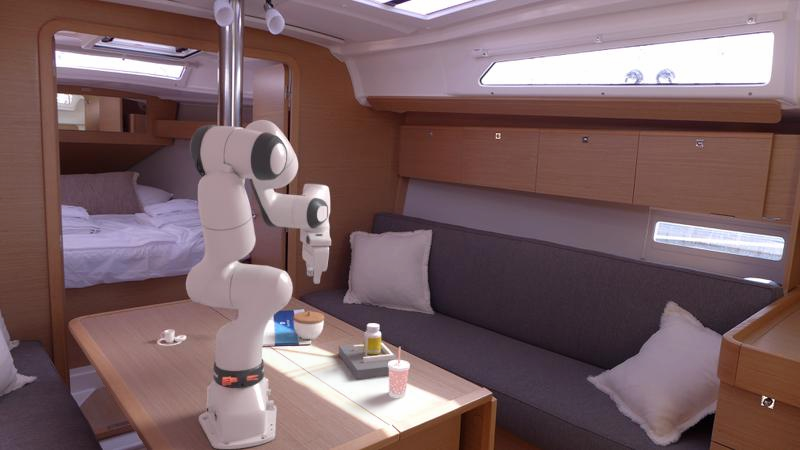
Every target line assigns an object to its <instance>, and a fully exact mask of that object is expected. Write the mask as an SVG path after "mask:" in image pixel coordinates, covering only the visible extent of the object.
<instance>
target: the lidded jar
mask: <svg viewBox="0 0 800 450" xmlns="http://www.w3.org/2000/svg"><path fill="white" fill-rule="evenodd" d="M324 323H325V315H324V314H323V313H321V312H317V311H311V310H308V311H300V312H297V313H295V314H294V315H293V328H294V329H293V330H294V332H295V333H296V335H297V336H298V337H299V338H300V337H301V338H303V339H310V340H309V341H312V340H316V339H317V338H318V337H319V336H320V335H321V334H322V332H323V329H324V326H325V325H324ZM301 338H300V339H301ZM303 339H302V340H303Z"/></svg>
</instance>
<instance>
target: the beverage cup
mask: <svg viewBox="0 0 800 450" xmlns="http://www.w3.org/2000/svg"><path fill="white" fill-rule="evenodd" d="M397 358H398V360H392V361H390V362H389V363H388V368H389V376H388V395H389V396H390V397H391V398H393V399H401V398H404V397H405V396H406V394H407V385H408V384H407V383H408V377H409V376H408V375H409V370H410V368H411V364H410V362H409V361H407V360H404V359H401V346H398V356H397Z"/></svg>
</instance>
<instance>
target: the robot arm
mask: <svg viewBox="0 0 800 450" xmlns="http://www.w3.org/2000/svg"><path fill="white" fill-rule="evenodd" d="M189 153H190V156H191V157H190V158H191V160H192V163H193V165H194V167H195V170H196V172H197V173H198V175H199V176H201V178H200V180H199V182H198V185H197V205H198V214H199V219H200V223H201V229H202V233H203V240H204V241H203V242H204V255H203V258H202V259H201V260H200V261H199V262H198V263H196V264H195V265H194V266H193V267H191V269H190V270H189V272H188V273H187V276H186V281H185V289H186V293H187V295H188V297H189V299H190V300H191V301H192V302H195V303H198V304H201V305H204V306H208V307H212V308H222V309H223V308H224V309H232V310H233V309H235V310H237V311H238V313H237V319H234V320H231V321H229V322H227V323H225V324H224V325H222V326H221V327H220V328H219V329H218V331H217V332H216V336H215V361H214V363H213V368H212V373H213V375H212V376H213V380H212V381H211V382H210V384H209V385H207V387H206V411H205V412H203V413H201V414H199V416H198V422H199V425H200V426H201V428H202V429H203V432H204V434H205V436H206V437H207V439H208V441H209V443H210V444H211V447H213V448H214V449H219V450H236V449H243V448H244V449H245V448H250V447H254V446H256V447H257V446H260V445H263V444H267V443H269V442H271V441H273V440H274V439H275V437H276V431H277V429H276V428H277V414H278V413H277V412H278V411H277V410H278V409H277V406H276V405H275V403H274V402H275V401H274V400H272V399H271V400H269V396H271V395H272V389H271V388H269V379H268V378H267V377H265V364H264V363H265V362H264V359H263V343H264V342H263V341H264V333H265V330H266V327H267V325H268V323H269V322H270V320H271V319H272V318H273V316H275V315H276V314H277V313H278V312H280V311H282V309H284V308H285V307H286V306H287V305H288V303H289V302H290V300H291V299H292V296H293V295H292V294H293V289H294V288H293V281H292V278H291V277H290V275H289V273H288V272H287V271H286V270H283V269H280V268H277V267H273V266H270V265H265V264H264V265H261V264H249V263H242V262H239V261H240V260H241V259H243V258H245V257H246V256H248V255H249V254H250V253H251V252H252V251H253V249H254V247H255V246H256V241H257V239H256V234H255V226H254V219H253V215H252V213H253V212H252V209H251V208H252V207H251V204H250V200H249V197H248V193H247V191H246V188H245V183H246V179H249V183H250V186H251V189H252V192H253V194H254V197H255V200H256V202H257V204H258V206H259V212H260V213H259V214H260V217H261V219H262V222H264V224H266V226H268V227H270V228H290V229H300V231H299V233H300V234H299V237H300V238H299V241H300V242H302V250H301V251H302V252H301V254H302V260H303V261H305V265H306V275H307V276H308V277H313V278H312V279H313V280H312V281H313V283H314V284H315V285H316V284H317V285H318V284H321V283H320V282H321V276H322V273H323V272H326V271H327V269H328V266H329V265H328V264H329V263H328V262H329V256H330V247H331V246H332V239H331V236H330V227H331V226H330V222H329V217H330V215H331V196H330V195H331V194H330V187H329V186H327V185H326V184H323V183H318V182H307V183H305V184H304V185H303V188H302V194H301V195H300V194H299V195H298V194H286V193H285V194H284V193H279V192H276V191H275V190H274V189H280V188H281V189H282V188H283V187H286V186H287V185H289V184H290V183H291V182H292V181H293V180H294V179H295V177H296V175H297V173H298V171H299V170H298V169H299V161H298V157H297V154H296V153H295V150H294V148H293V147H292V145H291V143H290V141H289V140H288V138H287V136H285V134H284V133H283V131H282V130H281V129H280V128H279V127H278V126H277V125H276V124H275V123H274V122H272V121H270V120H266V119H258V120H254V121H252V122H250V123H249V124H248V125H247V126H246V127H245V128H244V127H241V126H229V125H218V124H208V125H207V124H206V125H202V126H200V127H198V128H197V129H196V130H195V132H194V133H193V135H192V137H191V138H190V141H189Z"/></svg>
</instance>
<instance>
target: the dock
mask: <svg viewBox="0 0 800 450" xmlns="http://www.w3.org/2000/svg"><path fill="white" fill-rule="evenodd" d="M363 350H364V342H363V343H353V344H344V345H343V344H342V345H338V355H339V357H340V359H342V362H343V363H344V364H345V365H346V367H347V368H348V369H349V371H350V372H351V373H352V375H353V376H354V377H355V379H356V380H358V381H360V380H365V379H366V380H368V379H374V378H375V379H376V378H382V377H384V378H385V377H389V368H388V363H389V362H390V361H392V360H398V356H397V355H396V354H395V353H394V352H392V350H391V349H390V348H389V347H388V346H387V345H386V344H385V343H384V342H383V341H381V352H380V355H378V356H368V357H366V356H364V354H363Z"/></svg>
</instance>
